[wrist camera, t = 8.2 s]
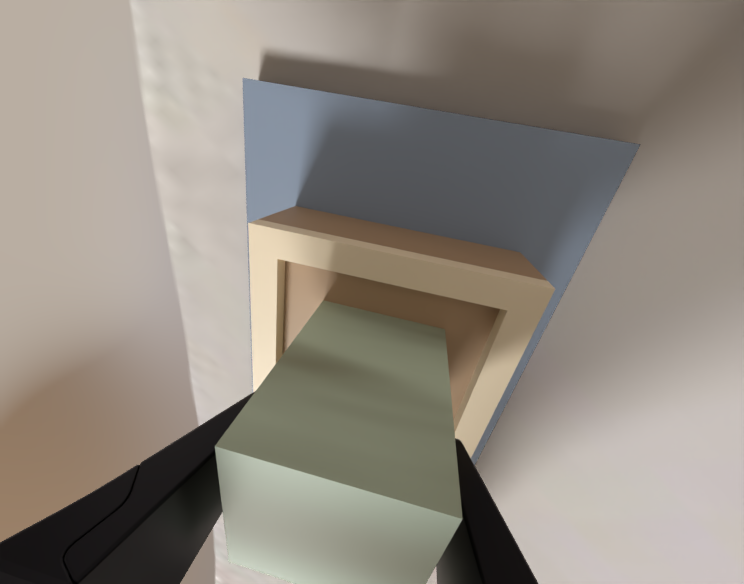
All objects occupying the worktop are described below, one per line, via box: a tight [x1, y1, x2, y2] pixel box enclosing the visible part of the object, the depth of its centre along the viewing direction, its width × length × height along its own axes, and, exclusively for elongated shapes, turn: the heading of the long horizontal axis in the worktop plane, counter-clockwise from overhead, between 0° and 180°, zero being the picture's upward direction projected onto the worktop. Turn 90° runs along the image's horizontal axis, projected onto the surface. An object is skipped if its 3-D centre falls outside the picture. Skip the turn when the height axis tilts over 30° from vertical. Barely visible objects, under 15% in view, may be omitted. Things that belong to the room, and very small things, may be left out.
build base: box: [243, 78, 640, 465], centre depth 13 cm, size 18×14×5 cm
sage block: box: [215, 300, 463, 584], centre depth 9 cm, size 4×4×6 cm
